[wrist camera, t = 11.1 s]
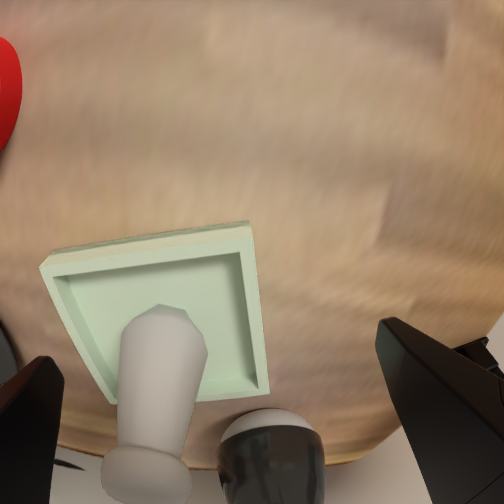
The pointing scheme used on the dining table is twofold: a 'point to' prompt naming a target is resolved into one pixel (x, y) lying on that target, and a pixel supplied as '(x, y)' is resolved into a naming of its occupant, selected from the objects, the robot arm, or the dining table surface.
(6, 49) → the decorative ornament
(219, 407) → the dining table surface
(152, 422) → the salt shaker
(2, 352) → the casserole
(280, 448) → the dark grey egg shape
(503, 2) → the dining table surface
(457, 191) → the dining table surface
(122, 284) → the tray
